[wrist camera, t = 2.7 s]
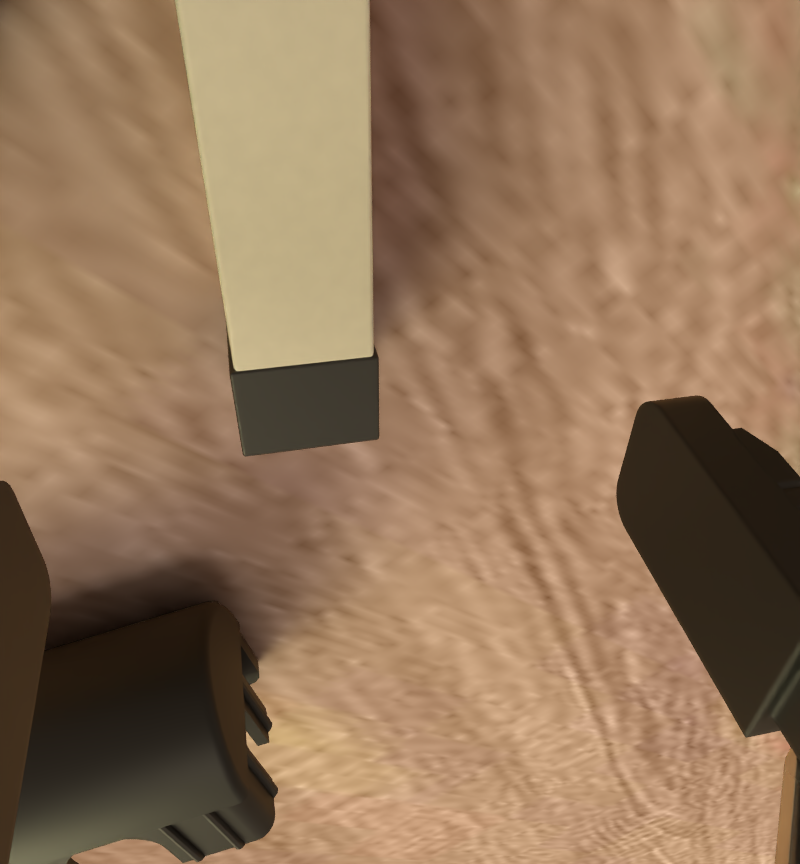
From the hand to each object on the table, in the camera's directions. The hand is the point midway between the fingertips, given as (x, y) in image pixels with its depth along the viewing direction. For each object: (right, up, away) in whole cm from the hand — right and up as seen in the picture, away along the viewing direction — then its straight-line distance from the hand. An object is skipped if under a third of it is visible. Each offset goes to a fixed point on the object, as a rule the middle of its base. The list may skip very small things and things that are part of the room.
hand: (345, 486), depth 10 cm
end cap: (-10, -7, +16) cm, 20 cm away
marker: (-2, +6, +7) cm, 10 cm away
